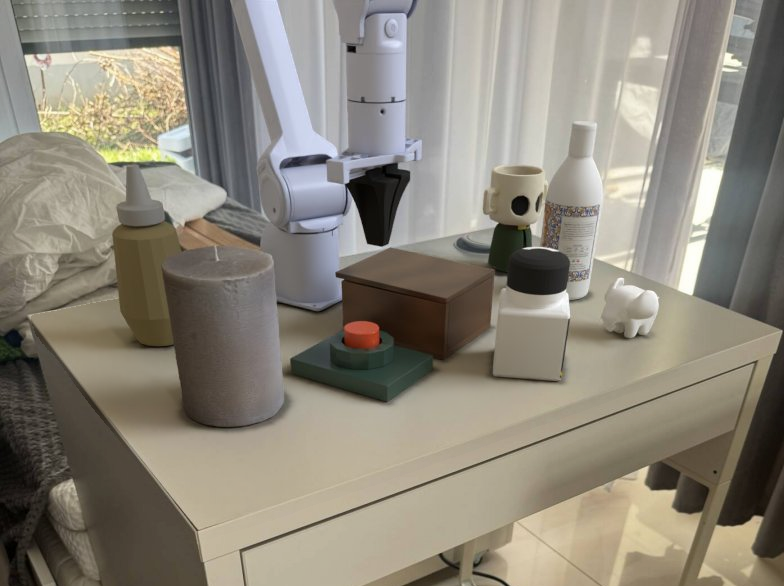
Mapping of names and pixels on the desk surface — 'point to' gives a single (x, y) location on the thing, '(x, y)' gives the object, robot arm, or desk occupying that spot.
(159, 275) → the squeeze bottle
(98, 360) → the desk surface
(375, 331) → the button
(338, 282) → the robot arm
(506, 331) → the medicine bottle
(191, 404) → the pillar candle
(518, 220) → the character mug
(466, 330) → the box
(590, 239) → the bath foam
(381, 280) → the lid
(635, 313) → the elephant figurine
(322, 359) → the button block
